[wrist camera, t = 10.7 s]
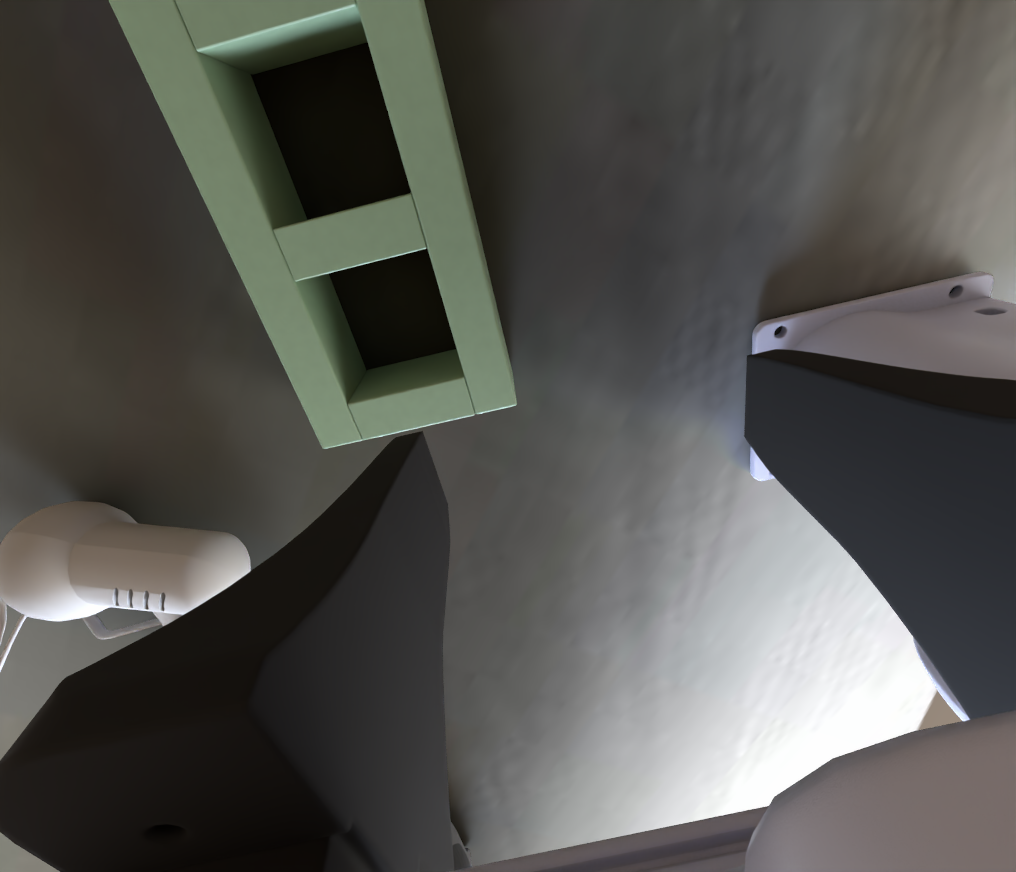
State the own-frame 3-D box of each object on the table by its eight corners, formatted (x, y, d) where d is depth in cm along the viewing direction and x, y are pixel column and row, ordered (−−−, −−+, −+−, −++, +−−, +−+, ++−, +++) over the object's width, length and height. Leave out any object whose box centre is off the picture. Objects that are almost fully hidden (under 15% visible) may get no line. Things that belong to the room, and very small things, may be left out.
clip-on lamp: (69, 615, 31) (333, 648, 27) (-40, 720, 25) (268, 776, 22) (-68, 466, 24) (257, 488, 21) (-254, 568, 19) (141, 617, 16)
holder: (413, -42, 15) (395, -99, 12) (512, 372, 21) (517, 406, 18) (179, 27, 15) (101, -11, 12) (345, 410, 22) (322, 450, 18)
